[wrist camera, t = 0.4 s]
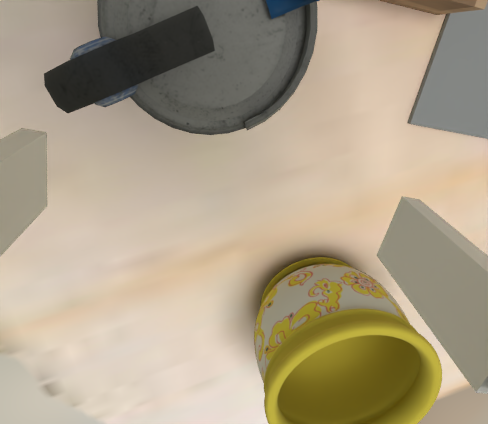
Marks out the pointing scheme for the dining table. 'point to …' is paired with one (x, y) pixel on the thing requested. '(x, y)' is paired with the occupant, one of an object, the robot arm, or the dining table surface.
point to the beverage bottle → (192, 60)
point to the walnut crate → (441, 5)
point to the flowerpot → (340, 350)
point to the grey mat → (457, 77)
